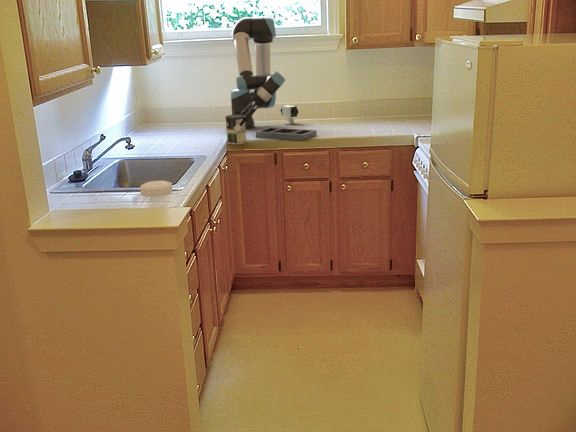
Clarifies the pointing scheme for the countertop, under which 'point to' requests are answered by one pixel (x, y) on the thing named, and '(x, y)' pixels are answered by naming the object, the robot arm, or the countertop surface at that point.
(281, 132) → the gray compartment tray
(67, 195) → the countertop surface
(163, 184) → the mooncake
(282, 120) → the countertop surface
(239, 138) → the coffee can
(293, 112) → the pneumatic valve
